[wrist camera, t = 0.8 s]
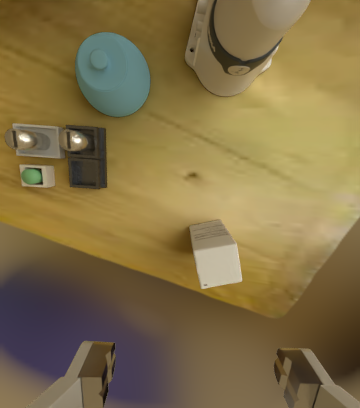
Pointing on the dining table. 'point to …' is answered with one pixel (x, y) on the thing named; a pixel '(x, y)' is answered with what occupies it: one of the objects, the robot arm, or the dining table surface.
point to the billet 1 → (26, 140)
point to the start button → (32, 176)
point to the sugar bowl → (112, 74)
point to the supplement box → (215, 254)
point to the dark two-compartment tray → (89, 161)
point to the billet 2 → (76, 141)
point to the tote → (53, 134)
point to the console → (46, 174)
